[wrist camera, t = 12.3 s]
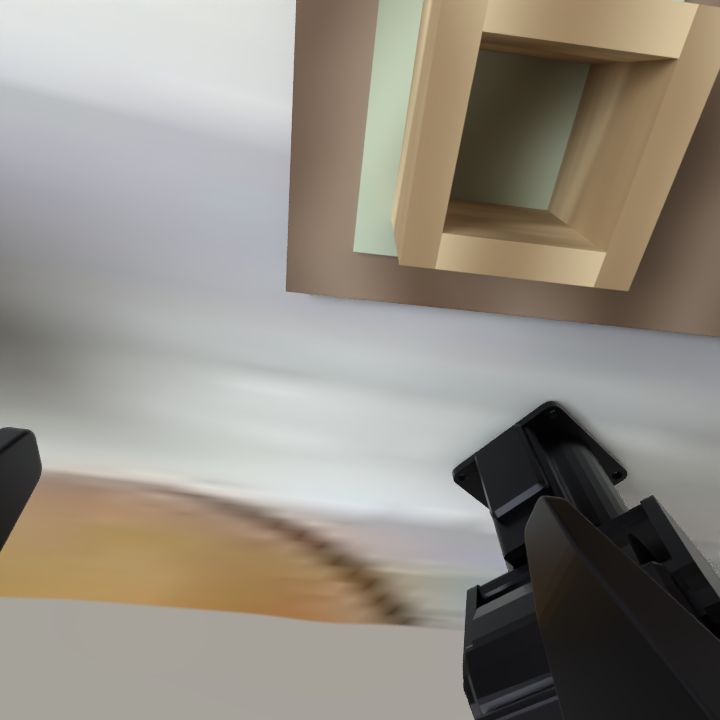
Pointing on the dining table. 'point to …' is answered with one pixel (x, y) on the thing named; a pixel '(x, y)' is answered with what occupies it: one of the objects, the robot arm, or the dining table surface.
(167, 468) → the dining table surface
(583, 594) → the robot arm
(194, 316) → the dining table surface
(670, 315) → the board
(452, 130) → the collar
